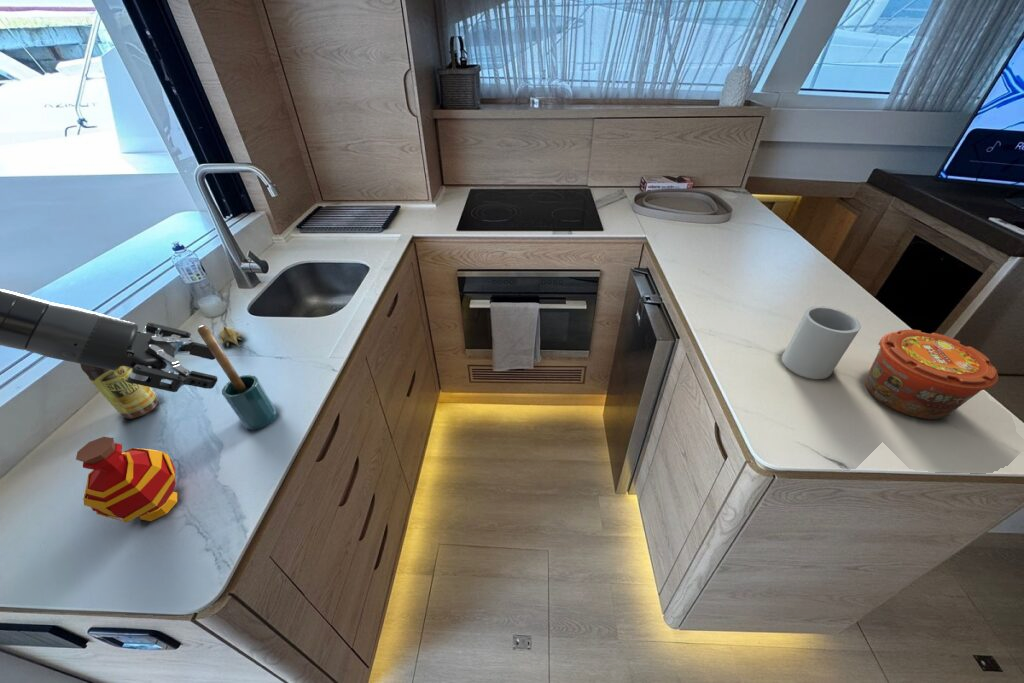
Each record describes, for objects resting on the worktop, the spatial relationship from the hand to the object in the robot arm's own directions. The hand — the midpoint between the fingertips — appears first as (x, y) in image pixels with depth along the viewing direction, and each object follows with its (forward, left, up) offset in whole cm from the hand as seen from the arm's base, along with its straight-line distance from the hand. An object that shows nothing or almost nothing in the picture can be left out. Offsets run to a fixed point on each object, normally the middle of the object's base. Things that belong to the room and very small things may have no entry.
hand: (216, 368), depth 68 cm
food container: (-61, -113, -14) cm, 129 cm away
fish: (+31, +3, -14) cm, 34 cm away
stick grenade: (0, -1, -13) cm, 13 cm away
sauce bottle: (+16, +19, -14) cm, 29 cm away
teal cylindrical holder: (0, -2, -14) cm, 14 cm away
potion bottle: (-12, +14, -14) cm, 23 cm away
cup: (-46, -106, -14) cm, 116 cm away
